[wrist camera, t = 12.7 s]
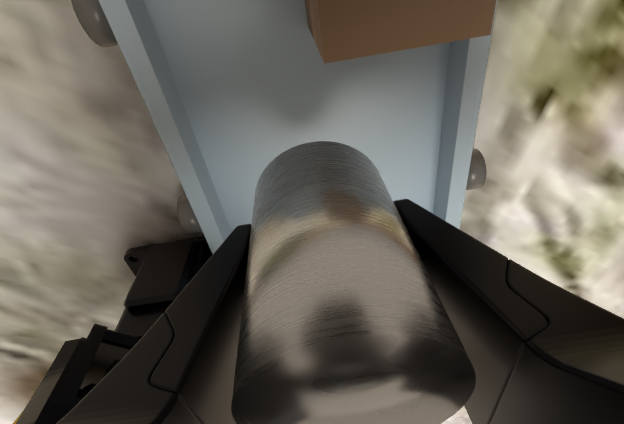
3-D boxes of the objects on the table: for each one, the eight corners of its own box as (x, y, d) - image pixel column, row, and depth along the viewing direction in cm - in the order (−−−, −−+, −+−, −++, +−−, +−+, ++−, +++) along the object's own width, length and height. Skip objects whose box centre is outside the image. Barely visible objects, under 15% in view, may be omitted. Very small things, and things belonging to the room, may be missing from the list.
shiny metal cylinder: (384, 238, 11) (459, 435, 7) (270, 256, 12) (262, 463, 7) (382, 130, 9) (498, 314, 4) (238, 154, 9) (193, 360, 4)
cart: (456, 224, 20) (473, 249, 18) (216, 261, 21) (210, 289, 19) (533, -259, 9) (591, -310, 8) (26, -162, 10) (-30, -190, 8)
